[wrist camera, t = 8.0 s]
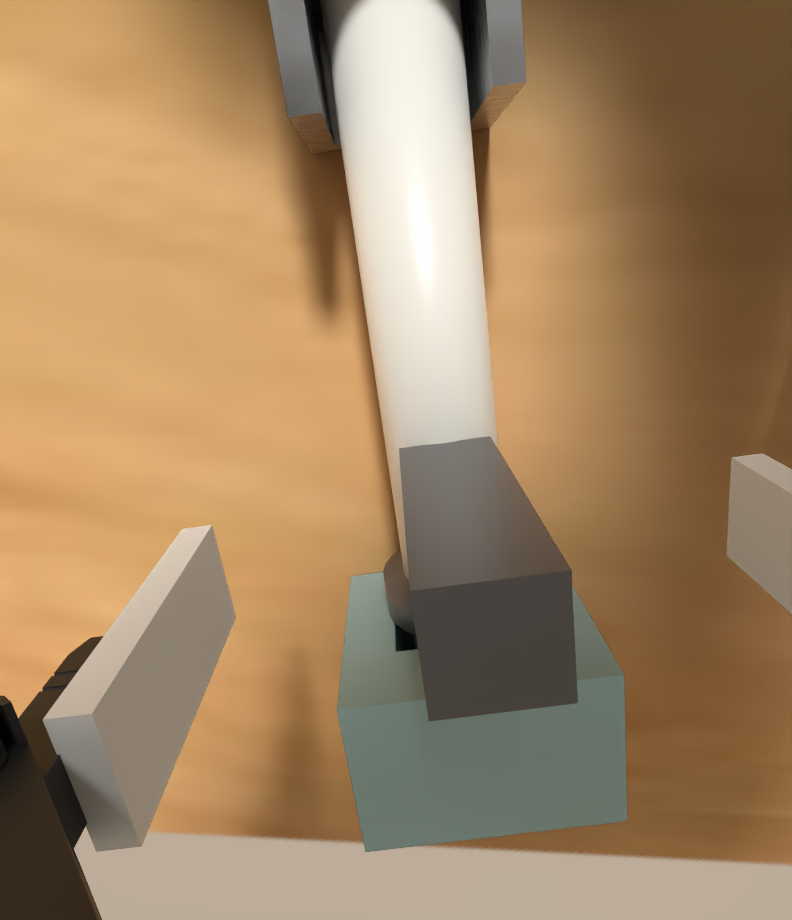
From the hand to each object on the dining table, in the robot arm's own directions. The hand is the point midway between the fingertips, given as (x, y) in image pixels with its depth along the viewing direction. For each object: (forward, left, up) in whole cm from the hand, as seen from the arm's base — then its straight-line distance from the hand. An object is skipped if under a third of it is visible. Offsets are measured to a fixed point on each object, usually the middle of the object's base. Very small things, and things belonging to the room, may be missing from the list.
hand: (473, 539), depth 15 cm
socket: (+9, 0, -10) cm, 14 cm away
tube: (-3, 0, -10) cm, 11 cm away
